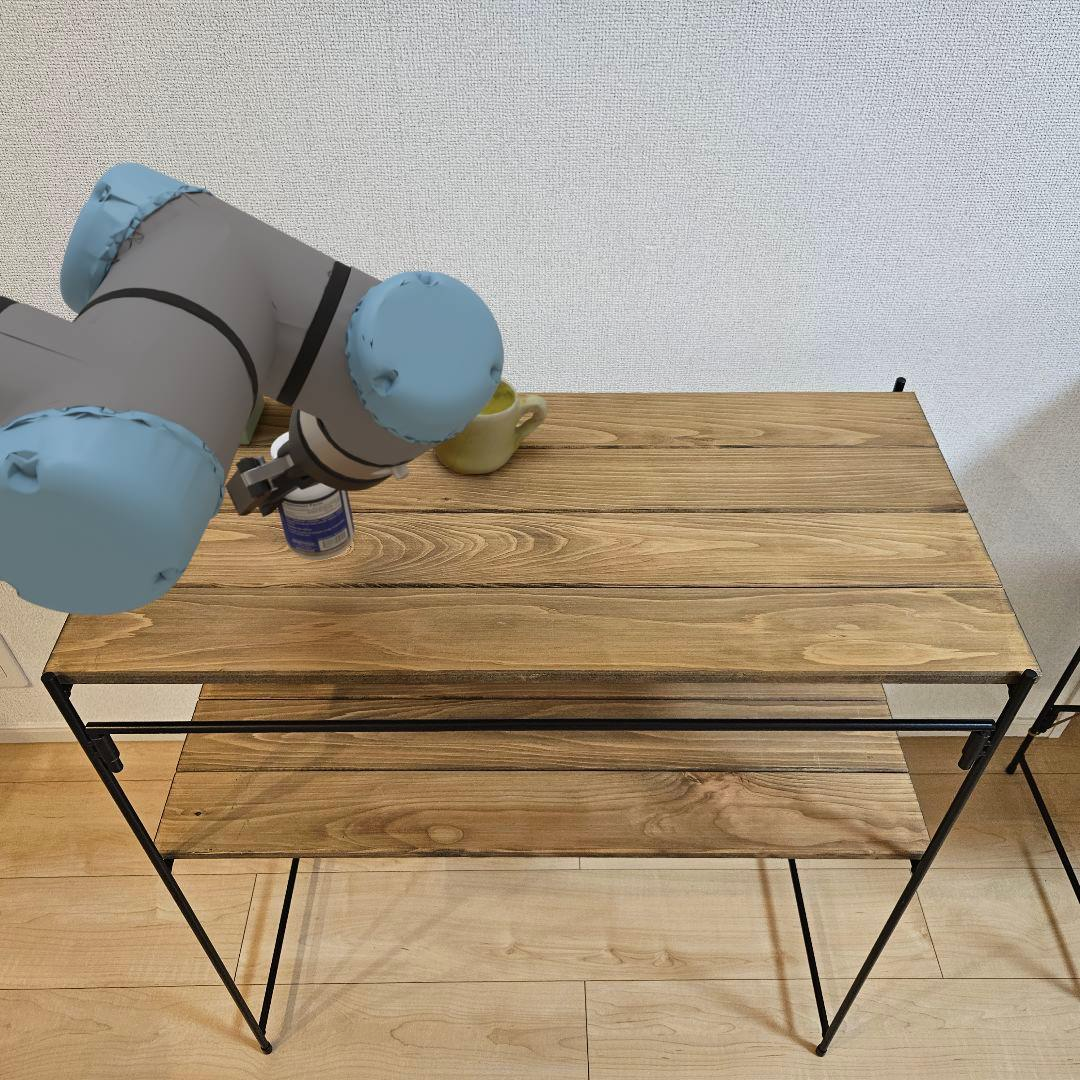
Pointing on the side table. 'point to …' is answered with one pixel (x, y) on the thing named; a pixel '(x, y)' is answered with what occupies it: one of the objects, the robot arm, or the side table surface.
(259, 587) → the side table surface
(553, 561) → the side table surface
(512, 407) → the mug
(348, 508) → the pill bottle
